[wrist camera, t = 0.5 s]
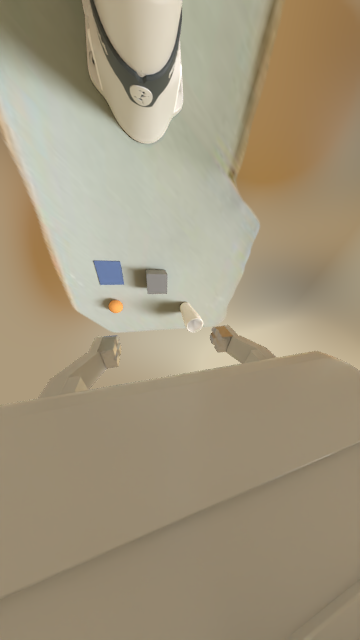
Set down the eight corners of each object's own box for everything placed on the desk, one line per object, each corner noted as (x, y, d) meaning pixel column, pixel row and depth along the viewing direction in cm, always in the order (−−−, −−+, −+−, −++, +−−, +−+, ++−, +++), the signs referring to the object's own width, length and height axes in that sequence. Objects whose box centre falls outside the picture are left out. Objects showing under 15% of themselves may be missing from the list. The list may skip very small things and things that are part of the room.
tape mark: (93, 260, 42) (93, 260, 42) (119, 261, 44) (119, 261, 44) (100, 284, 47) (100, 284, 46) (124, 284, 48) (123, 284, 48)
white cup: (190, 298, 58) (202, 315, 46) (192, 310, 62) (204, 329, 50) (176, 302, 58) (185, 321, 46) (179, 314, 62) (187, 334, 50)
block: (146, 269, 47) (146, 274, 42) (164, 269, 49) (167, 274, 44) (147, 287, 51) (147, 293, 46) (164, 287, 53) (167, 293, 48)
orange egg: (108, 298, 50) (105, 304, 46) (122, 297, 51) (120, 303, 47) (111, 309, 53) (108, 315, 49) (124, 308, 54) (123, 314, 50)
